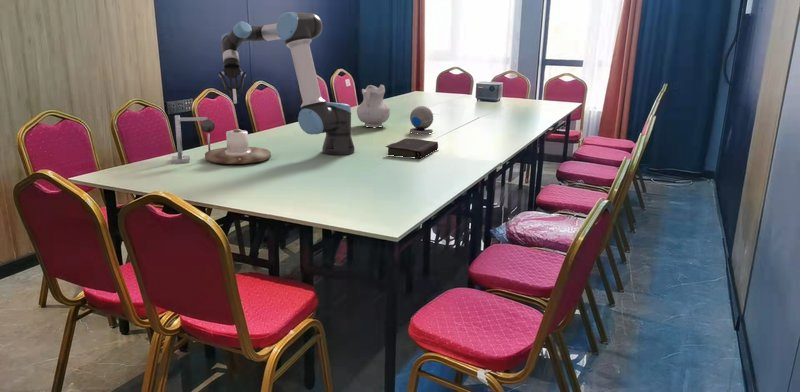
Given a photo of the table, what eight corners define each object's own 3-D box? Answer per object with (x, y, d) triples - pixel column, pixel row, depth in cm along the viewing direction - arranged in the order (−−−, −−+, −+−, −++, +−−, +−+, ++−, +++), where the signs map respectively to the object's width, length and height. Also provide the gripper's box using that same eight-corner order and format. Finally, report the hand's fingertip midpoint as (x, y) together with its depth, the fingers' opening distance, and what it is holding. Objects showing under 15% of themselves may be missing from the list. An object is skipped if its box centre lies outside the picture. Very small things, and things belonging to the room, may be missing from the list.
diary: (438, 151, 293) (438, 141, 291) (421, 161, 270) (422, 150, 269) (403, 147, 299) (403, 137, 298) (383, 156, 277) (383, 146, 275)
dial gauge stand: (216, 157, 264) (213, 113, 258) (216, 161, 257) (214, 116, 252) (172, 159, 258) (168, 114, 253) (171, 163, 252) (167, 117, 246)
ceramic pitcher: (387, 132, 341) (391, 88, 334) (353, 128, 341) (357, 84, 334) (388, 126, 362) (392, 84, 355) (356, 122, 362) (360, 81, 355)
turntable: (267, 148, 280) (267, 145, 279) (274, 162, 254) (273, 158, 254) (205, 151, 271) (204, 147, 271) (205, 165, 246) (204, 161, 245)
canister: (250, 151, 267) (249, 127, 264) (251, 156, 257) (250, 131, 254) (225, 151, 264) (223, 127, 261) (224, 157, 254) (223, 132, 251)
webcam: (436, 132, 339) (437, 106, 334) (425, 135, 328) (426, 108, 324) (417, 129, 345) (417, 103, 341) (405, 132, 335) (406, 106, 331)
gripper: (245, 66, 294) (249, 106, 285) (217, 66, 290) (220, 106, 281) (245, 56, 288) (249, 97, 278) (217, 56, 284) (220, 97, 274)
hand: (235, 101), depth 280 cm, fingers closed
